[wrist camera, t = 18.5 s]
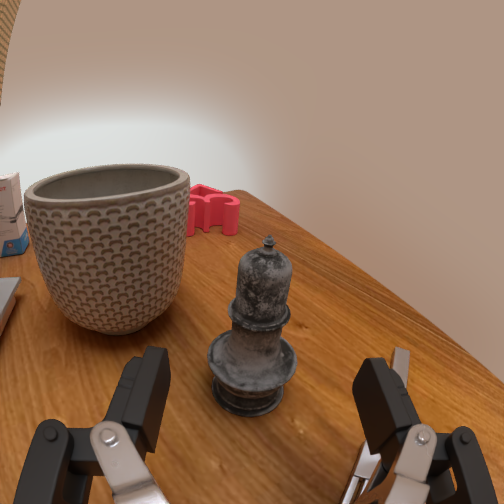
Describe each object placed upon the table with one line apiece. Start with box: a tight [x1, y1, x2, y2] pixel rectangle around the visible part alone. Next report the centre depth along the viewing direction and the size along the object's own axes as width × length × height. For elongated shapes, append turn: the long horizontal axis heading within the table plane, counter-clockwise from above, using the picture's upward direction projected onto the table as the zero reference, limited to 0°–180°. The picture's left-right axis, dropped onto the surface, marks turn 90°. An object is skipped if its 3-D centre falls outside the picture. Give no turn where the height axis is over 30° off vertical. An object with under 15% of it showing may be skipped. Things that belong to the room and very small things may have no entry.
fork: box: [339, 347, 410, 504], centre depth 15 cm, size 19×3×1 cm, turn 151°
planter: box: [24, 164, 190, 335], centre depth 22 cm, size 14×14×13 cm
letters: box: [187, 184, 240, 236], centre depth 49 cm, size 14×10×5 cm
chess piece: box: [207, 235, 297, 417], centre depth 17 cm, size 6×6×12 cm
